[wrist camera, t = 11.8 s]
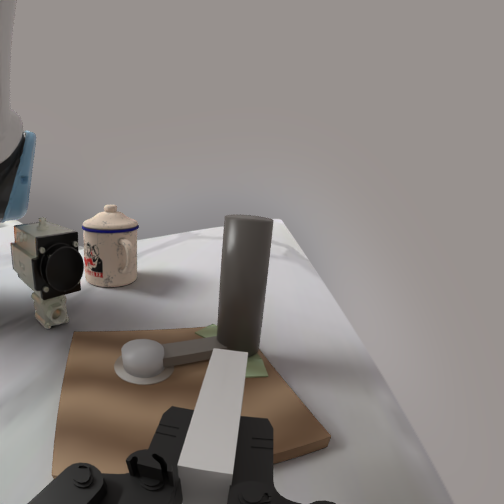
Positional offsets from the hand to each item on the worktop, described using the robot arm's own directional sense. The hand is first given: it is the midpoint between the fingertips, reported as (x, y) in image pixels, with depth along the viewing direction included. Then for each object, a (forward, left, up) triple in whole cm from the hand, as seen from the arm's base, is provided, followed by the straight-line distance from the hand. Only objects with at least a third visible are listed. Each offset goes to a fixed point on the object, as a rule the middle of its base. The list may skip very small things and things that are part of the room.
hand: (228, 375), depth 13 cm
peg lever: (-12, +1, -7) cm, 14 cm away
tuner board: (-9, -1, -8) cm, 13 cm away
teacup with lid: (-37, -6, -9) cm, 38 cm away
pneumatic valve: (-23, -14, -9) cm, 28 cm away
